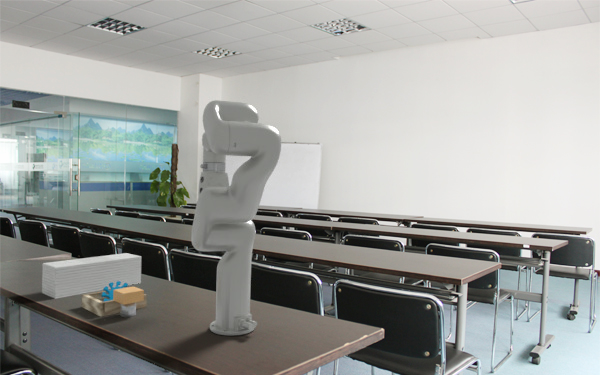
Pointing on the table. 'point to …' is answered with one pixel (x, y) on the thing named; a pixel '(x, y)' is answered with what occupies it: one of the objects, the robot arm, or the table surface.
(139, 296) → the block
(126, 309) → the silver metal rounded piece
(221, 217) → the robot arm
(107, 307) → the chassis bay
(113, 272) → the stack of papers
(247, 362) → the table surface
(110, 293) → the gear
